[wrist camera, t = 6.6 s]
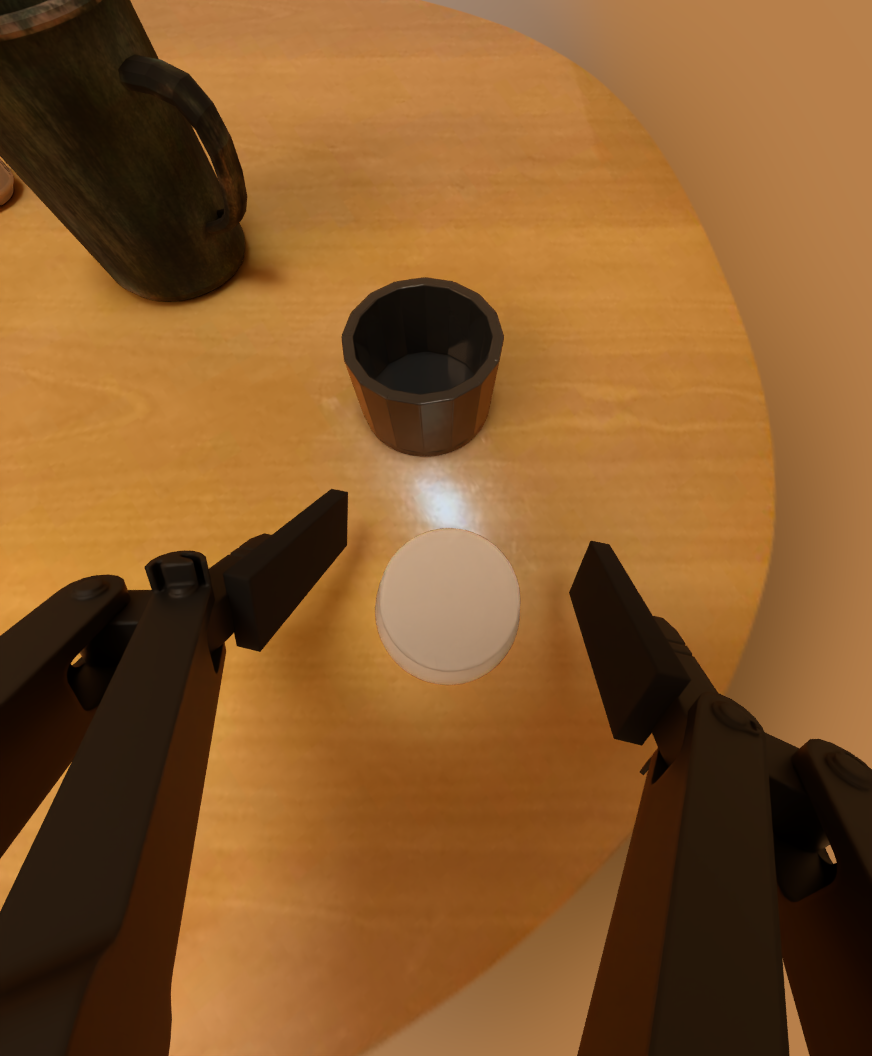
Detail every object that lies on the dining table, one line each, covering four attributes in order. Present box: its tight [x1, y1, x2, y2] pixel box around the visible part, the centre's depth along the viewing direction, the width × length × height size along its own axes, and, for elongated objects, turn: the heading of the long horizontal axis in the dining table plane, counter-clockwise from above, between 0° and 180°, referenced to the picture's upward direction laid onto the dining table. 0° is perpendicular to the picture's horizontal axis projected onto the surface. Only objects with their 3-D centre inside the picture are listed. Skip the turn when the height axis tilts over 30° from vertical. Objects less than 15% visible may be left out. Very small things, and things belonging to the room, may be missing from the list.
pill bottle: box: [375, 528, 520, 685], centre depth 13 cm, size 5×5×9 cm
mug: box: [0, 0, 247, 301], centre depth 20 cm, size 11×15×12 cm
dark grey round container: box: [342, 277, 504, 456], centre depth 19 cm, size 8×8×5 cm
